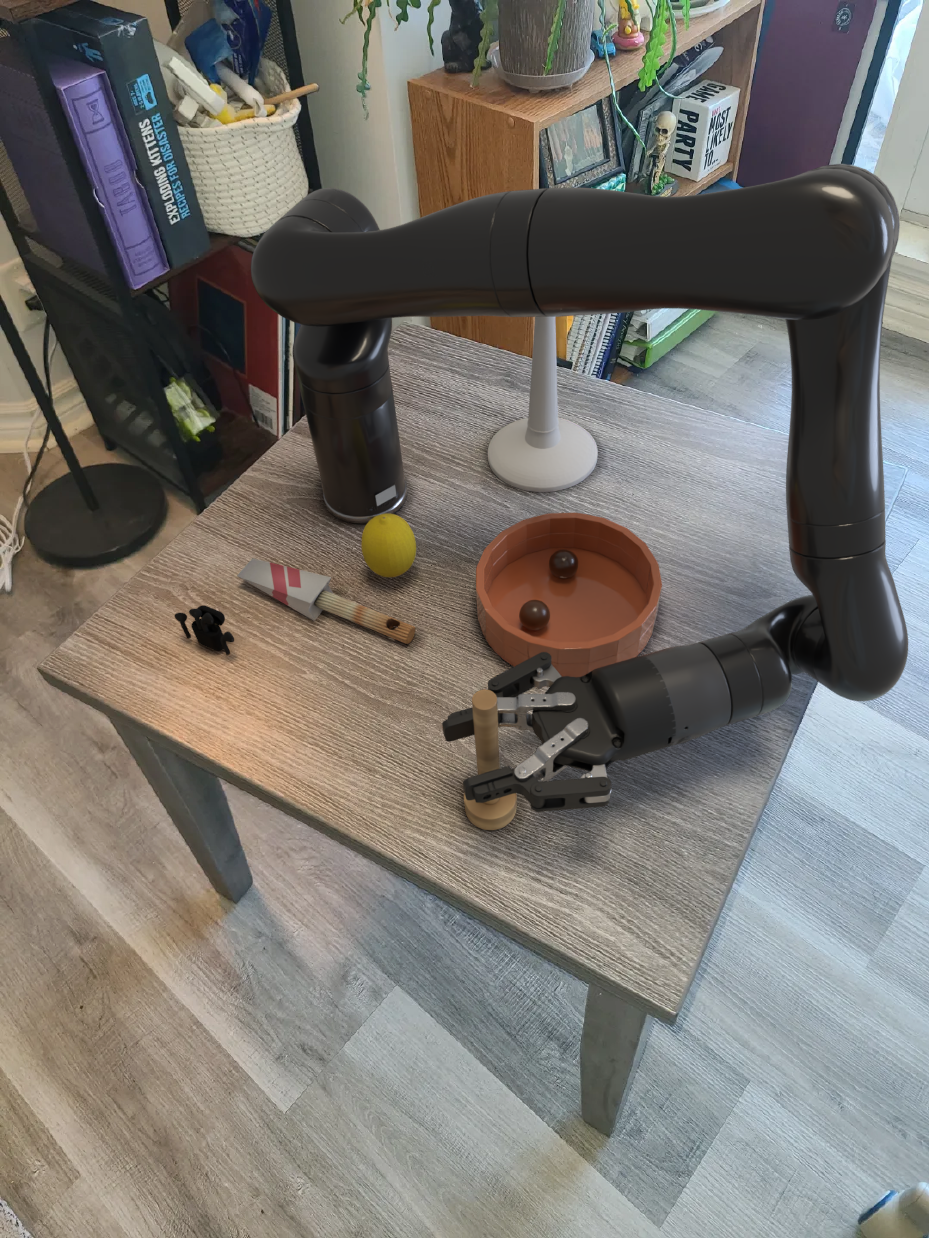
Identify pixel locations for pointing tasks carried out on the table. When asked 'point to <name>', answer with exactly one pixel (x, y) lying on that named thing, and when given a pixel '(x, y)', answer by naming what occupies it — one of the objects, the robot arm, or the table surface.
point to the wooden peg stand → (488, 764)
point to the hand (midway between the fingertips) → (455, 760)
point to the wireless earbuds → (207, 628)
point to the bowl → (569, 592)
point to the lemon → (388, 545)
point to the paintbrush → (318, 597)
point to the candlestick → (543, 431)
